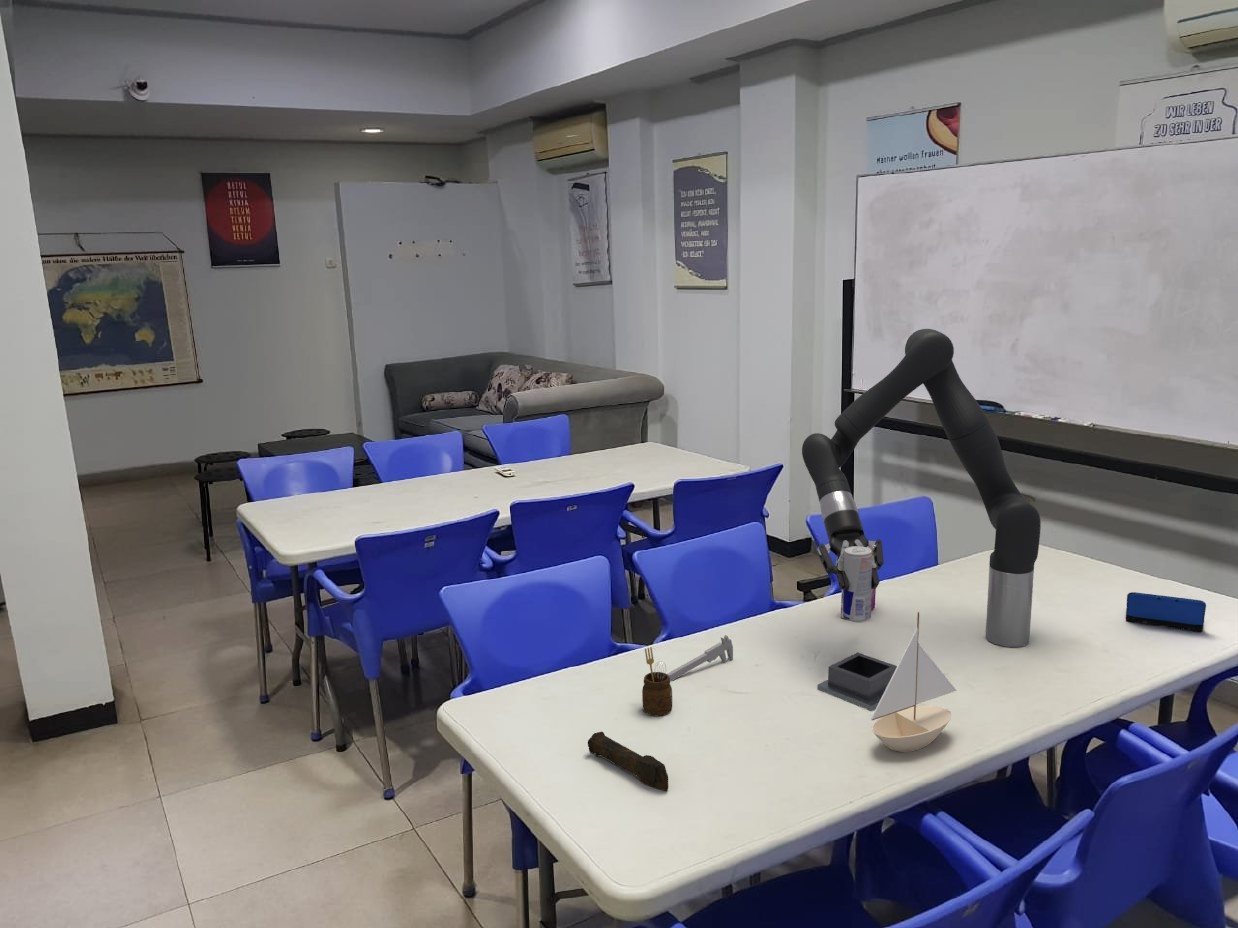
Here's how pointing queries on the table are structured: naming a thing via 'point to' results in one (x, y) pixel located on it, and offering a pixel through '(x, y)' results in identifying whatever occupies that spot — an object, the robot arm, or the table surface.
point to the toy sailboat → (912, 702)
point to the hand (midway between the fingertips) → (860, 588)
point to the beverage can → (857, 584)
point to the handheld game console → (1165, 611)
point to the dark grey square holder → (858, 680)
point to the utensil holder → (656, 690)
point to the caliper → (706, 657)
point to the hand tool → (630, 761)
